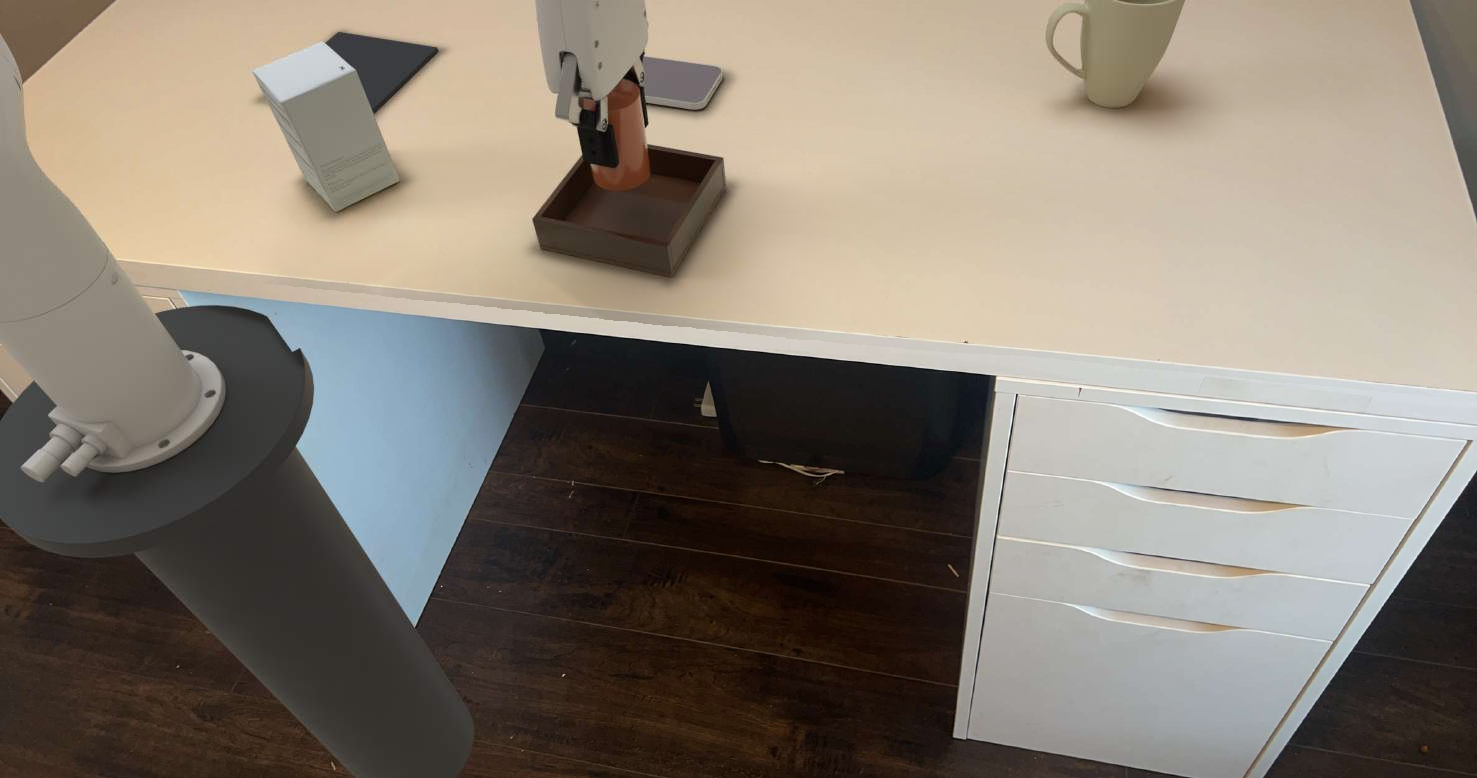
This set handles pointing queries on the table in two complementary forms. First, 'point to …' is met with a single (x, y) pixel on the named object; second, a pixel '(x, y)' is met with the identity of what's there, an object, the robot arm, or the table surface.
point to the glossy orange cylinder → (624, 139)
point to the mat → (380, 63)
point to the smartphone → (679, 82)
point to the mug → (1118, 45)
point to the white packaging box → (328, 124)
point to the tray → (634, 212)
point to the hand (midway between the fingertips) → (616, 142)
